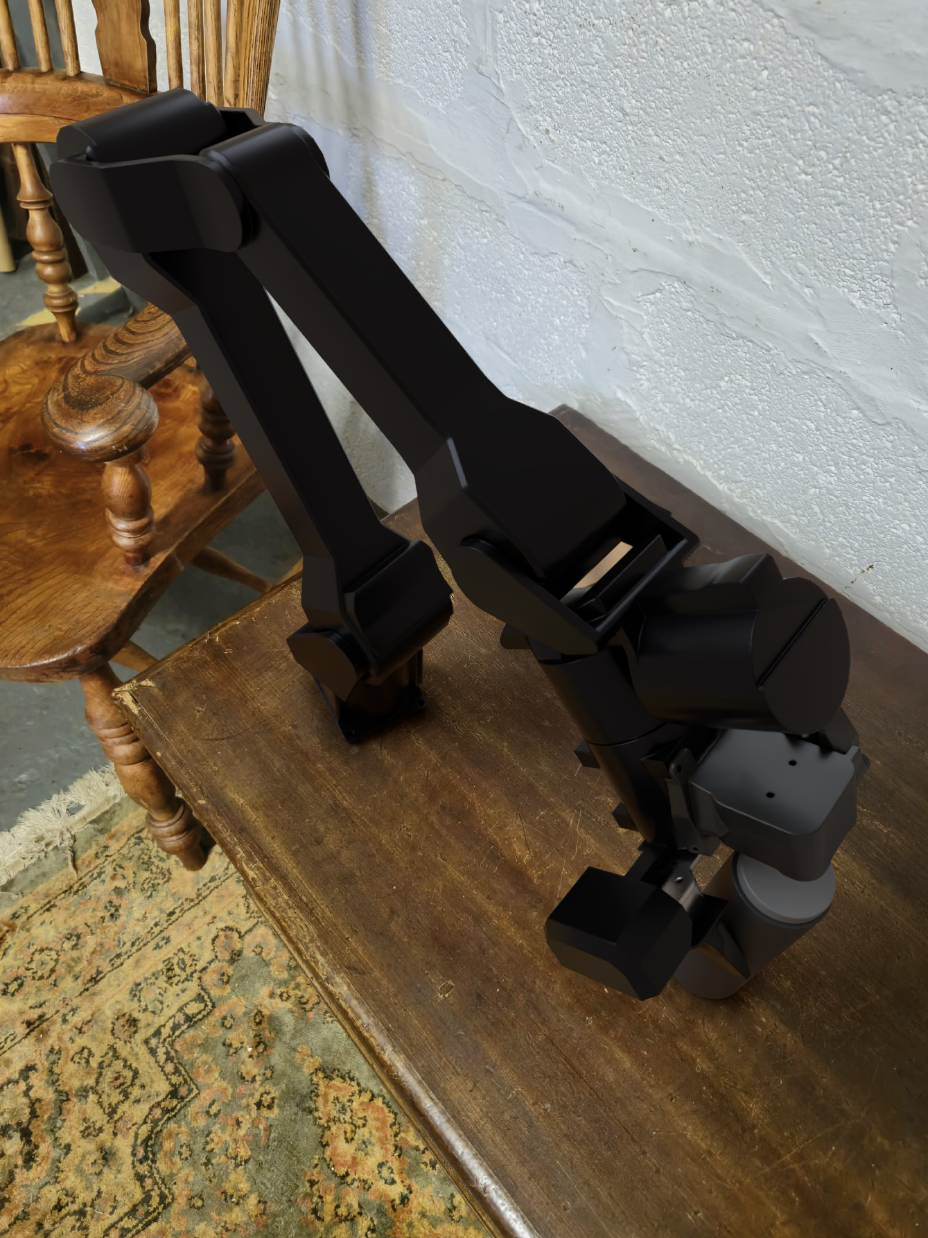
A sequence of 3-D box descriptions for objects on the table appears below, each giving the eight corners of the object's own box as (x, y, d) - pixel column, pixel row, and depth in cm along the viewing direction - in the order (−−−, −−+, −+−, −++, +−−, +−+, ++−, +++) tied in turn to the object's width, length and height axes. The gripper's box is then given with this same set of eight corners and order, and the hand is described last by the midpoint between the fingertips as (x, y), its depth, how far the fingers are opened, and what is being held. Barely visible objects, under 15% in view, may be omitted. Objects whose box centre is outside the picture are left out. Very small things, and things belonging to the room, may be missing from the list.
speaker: (699, 1015, 49) (784, 942, 37) (650, 939, 51) (716, 849, 40) (763, 974, 50) (863, 892, 39) (712, 902, 53) (792, 806, 41)
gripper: (656, 891, 29) (827, 1173, 33) (884, 580, 38) (994, 837, 42) (467, 835, 38) (623, 1063, 42) (687, 596, 47) (795, 806, 51)
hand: (765, 937), depth 44 cm, fingers closed on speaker, 5 cm apart
